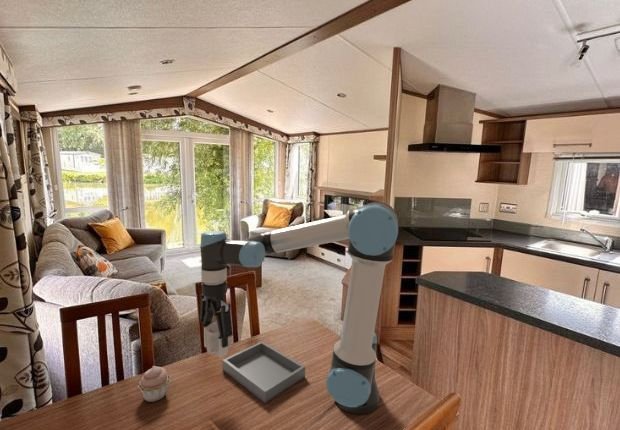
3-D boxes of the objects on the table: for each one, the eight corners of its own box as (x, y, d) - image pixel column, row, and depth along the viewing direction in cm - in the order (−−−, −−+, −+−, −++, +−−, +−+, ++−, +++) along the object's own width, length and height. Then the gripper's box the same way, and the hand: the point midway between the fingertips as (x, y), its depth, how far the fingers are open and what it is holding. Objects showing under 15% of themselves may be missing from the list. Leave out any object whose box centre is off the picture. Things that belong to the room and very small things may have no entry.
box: (305, 377, 110) (305, 366, 110) (265, 403, 97) (265, 391, 97) (261, 350, 126) (261, 341, 126) (222, 370, 113) (222, 359, 113)
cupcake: (157, 382, 106) (156, 354, 105) (177, 391, 102) (176, 362, 101) (131, 399, 98) (130, 369, 96) (151, 409, 94) (150, 379, 92)
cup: (220, 364, 93) (220, 339, 92) (196, 361, 95) (195, 336, 94) (236, 345, 104) (235, 322, 103) (214, 342, 105) (213, 320, 104)
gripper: (244, 286, 92) (245, 358, 95) (208, 271, 106) (209, 334, 109) (222, 293, 87) (223, 369, 90) (186, 276, 101) (188, 342, 104)
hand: (215, 350), depth 100 cm, fingers closed on cup, 8 cm apart
